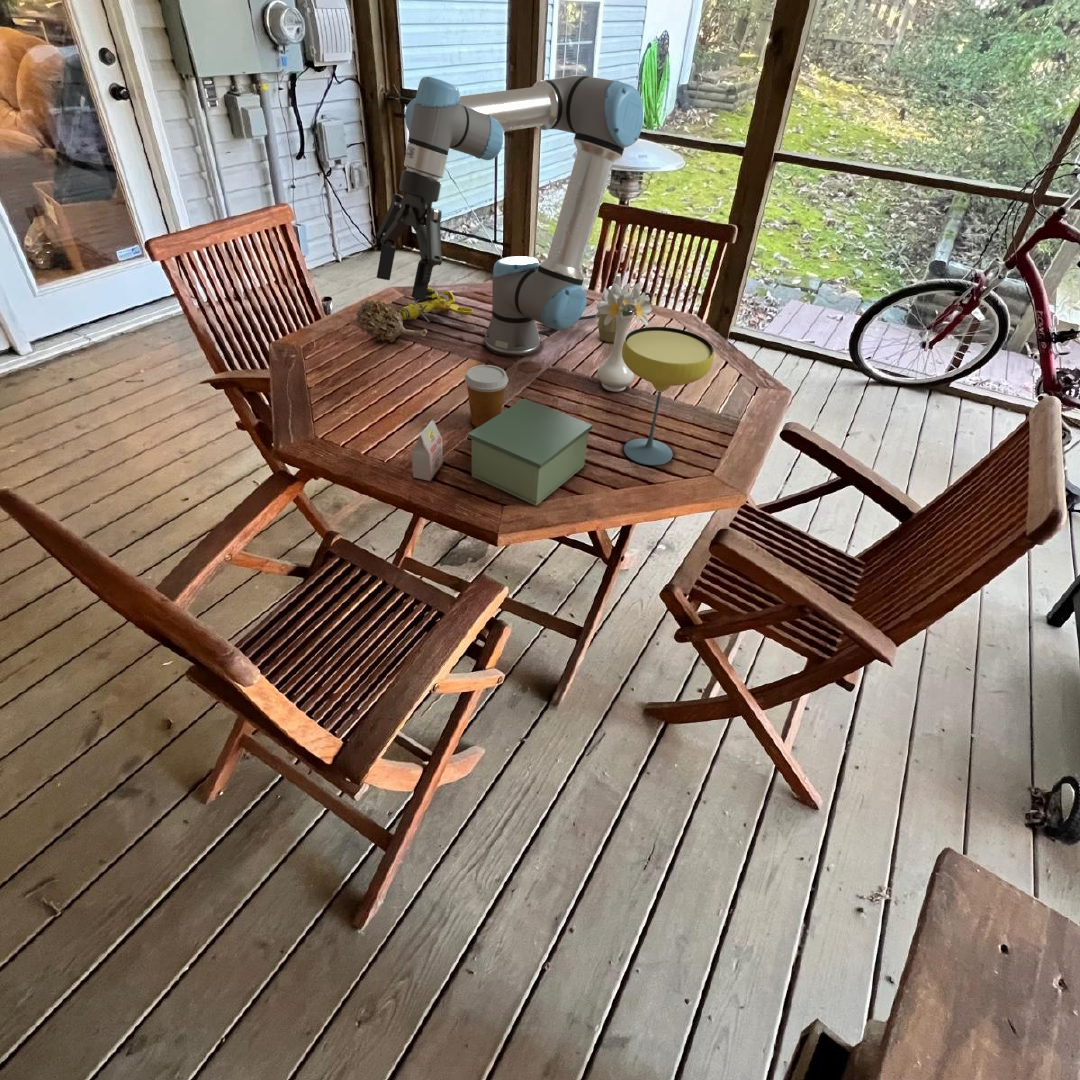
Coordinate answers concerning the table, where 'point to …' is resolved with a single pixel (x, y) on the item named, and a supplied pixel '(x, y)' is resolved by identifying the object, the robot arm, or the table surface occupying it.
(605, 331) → the squeeze bottle
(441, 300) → the sprinkler
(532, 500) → the green lidded box
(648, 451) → the cocktail glass
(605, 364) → the flower vase
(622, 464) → the table surface
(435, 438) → the white gable carton
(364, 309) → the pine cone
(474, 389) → the disposable coffee cup
